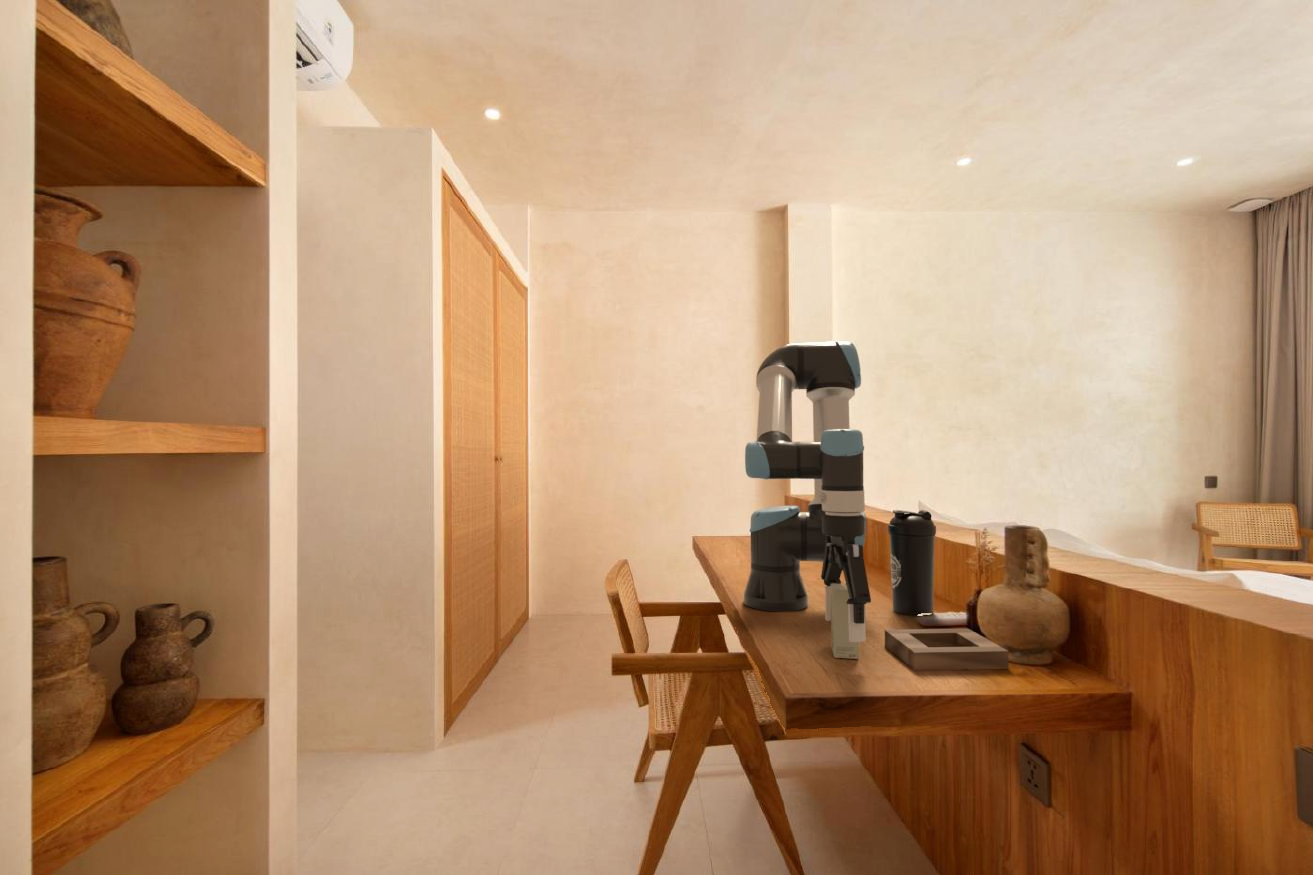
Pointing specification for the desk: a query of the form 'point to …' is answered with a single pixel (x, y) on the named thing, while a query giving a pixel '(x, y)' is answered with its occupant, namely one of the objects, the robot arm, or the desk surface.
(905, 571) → the water bottle
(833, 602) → the skincare box
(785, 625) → the desk surface
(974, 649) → the socket stand
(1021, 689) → the desk surface
